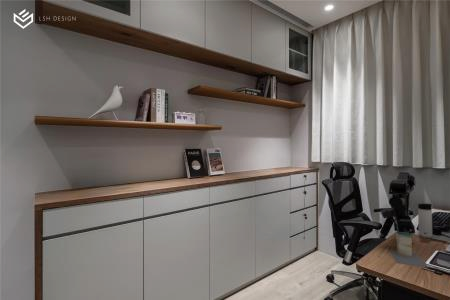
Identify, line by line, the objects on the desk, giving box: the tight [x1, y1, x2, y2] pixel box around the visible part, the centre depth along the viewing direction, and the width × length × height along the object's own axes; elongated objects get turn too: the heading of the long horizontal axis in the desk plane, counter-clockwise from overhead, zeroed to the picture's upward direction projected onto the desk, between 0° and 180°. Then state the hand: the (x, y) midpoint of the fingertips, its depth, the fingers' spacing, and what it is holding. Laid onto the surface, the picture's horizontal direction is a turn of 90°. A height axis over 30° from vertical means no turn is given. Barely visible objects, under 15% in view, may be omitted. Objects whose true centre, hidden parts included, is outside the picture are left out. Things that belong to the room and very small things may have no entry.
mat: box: [388, 249, 430, 269], centre depth 115 cm, size 16×12×1 cm
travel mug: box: [417, 203, 433, 239], centre depth 144 cm, size 6×7×20 cm
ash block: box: [396, 231, 413, 257], centre depth 120 cm, size 5×5×10 cm
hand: (400, 234), depth 126 cm, fingers closed
